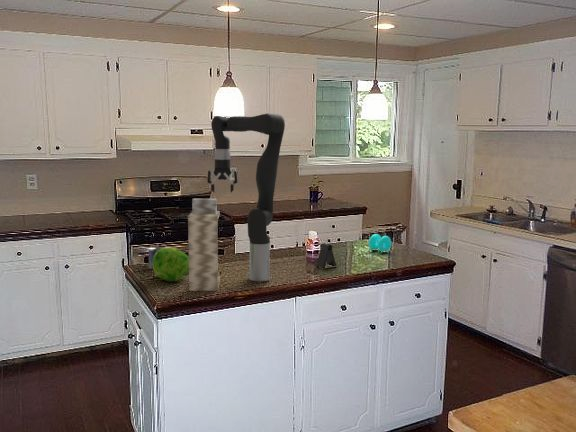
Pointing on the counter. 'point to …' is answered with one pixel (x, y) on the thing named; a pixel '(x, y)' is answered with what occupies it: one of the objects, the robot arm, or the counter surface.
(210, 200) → the grey patterned block
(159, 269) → the lettuce
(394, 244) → the counter surface
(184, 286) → the counter surface
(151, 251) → the flask
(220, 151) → the robot arm
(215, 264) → the beige patterned upright block
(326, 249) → the door stopper
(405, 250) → the counter surface
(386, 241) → the turquoise double oval
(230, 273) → the counter surface
